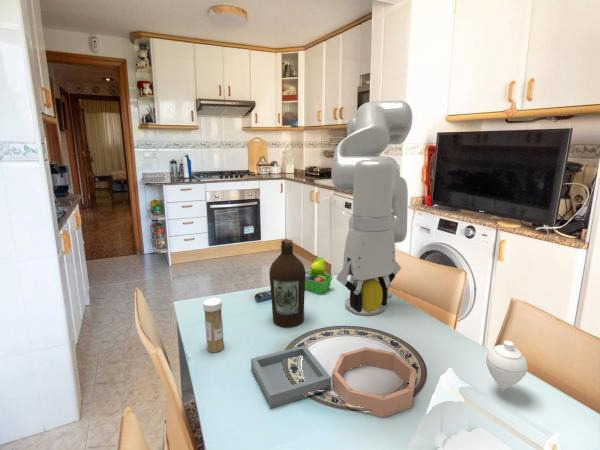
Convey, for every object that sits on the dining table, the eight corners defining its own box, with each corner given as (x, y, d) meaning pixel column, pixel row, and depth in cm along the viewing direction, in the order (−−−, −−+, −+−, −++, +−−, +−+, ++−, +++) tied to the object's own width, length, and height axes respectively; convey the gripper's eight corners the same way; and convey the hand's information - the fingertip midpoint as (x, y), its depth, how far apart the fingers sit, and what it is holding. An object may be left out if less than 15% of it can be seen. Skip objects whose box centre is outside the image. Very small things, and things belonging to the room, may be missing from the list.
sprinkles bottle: (224, 351, 95) (221, 303, 91) (206, 354, 94) (202, 305, 90) (224, 342, 99) (221, 296, 96) (206, 344, 98) (203, 298, 95)
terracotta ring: (382, 356, 91) (382, 342, 90) (431, 399, 76) (432, 383, 75) (321, 374, 85) (321, 359, 84) (361, 425, 70) (362, 407, 69)
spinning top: (529, 407, 74) (537, 354, 71) (488, 403, 75) (495, 351, 72) (514, 382, 81) (521, 334, 78) (477, 379, 83) (483, 331, 80)
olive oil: (273, 311, 116) (271, 235, 110) (306, 312, 115) (306, 236, 109) (268, 328, 106) (265, 246, 100) (304, 329, 105) (304, 246, 99)
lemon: (382, 319, 74) (384, 282, 72) (354, 317, 75) (355, 281, 73) (381, 307, 79) (383, 272, 77) (355, 305, 80) (356, 271, 78)
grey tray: (304, 355, 92) (304, 345, 92) (331, 389, 80) (331, 377, 79) (251, 369, 87) (250, 358, 86) (270, 408, 74) (270, 395, 74)
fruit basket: (295, 288, 134) (295, 259, 131) (310, 281, 140) (310, 253, 138) (320, 296, 127) (321, 266, 124) (335, 288, 133) (335, 259, 131)
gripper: (394, 214, 79) (390, 292, 83) (324, 223, 72) (324, 307, 76) (418, 221, 72) (412, 305, 77) (344, 232, 65) (342, 323, 70)
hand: (368, 305), depth 76 cm, fingers closed on lemon, 5 cm apart
